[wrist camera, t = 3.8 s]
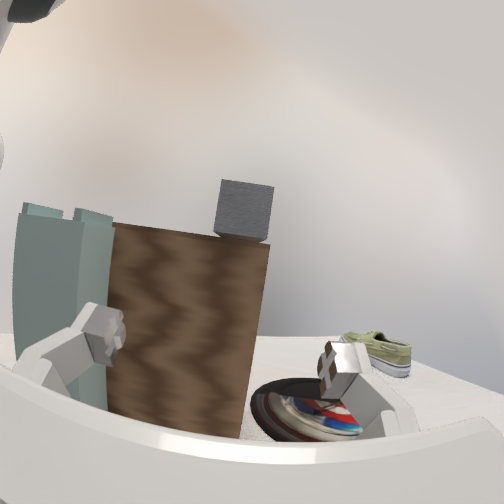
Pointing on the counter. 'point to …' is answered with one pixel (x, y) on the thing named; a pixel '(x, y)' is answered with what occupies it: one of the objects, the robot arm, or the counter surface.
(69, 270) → the socket post
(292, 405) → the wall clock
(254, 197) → the bar
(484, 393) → the counter surface
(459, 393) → the counter surface
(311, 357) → the counter surface
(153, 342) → the brown wooden block
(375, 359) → the boat shoe
